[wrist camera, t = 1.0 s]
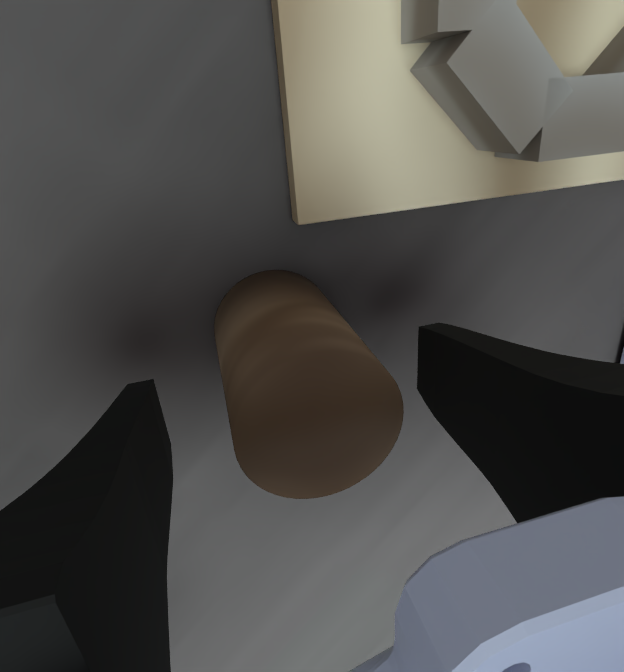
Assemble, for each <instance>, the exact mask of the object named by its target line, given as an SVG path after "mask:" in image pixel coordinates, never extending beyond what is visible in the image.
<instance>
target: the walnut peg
mask: <svg viewBox="0 0 624 672" xmlns="http://www.w3.org/2000/svg"><path fill="white" fill-rule="evenodd" d="M214 334H215V341H216V347H217V353H218V358H219V364H220V370H221V376H222V382H223V387H224V393H225V399H226V405H227V411H228V416H229V422H230V428H231V434H232V440H233V445H234V451H235V454H236V458H237V461H238V463H239V465H240V467H241V469H242V470H243V471H244V473H245V474H246V476H247V477H248V478H249V479H250V480H251V481H252V482H253V483H255V484H256V485H257V486H259V487H260V488H262V489H264V490H266V491H268V492H270V493H273V494H275V495H278V496H282V497H287V498H295V499H309V498H318V497H323V496H328V495H331V494H334V493H337V492H340V491H342V490H345V489H347V488H349V487H351V486H353V485H355V484H356V483H358V482H360V481H361V480H363V479H364V478H366V477H367V476H368V475H369V474H371V473H372V472H373V471H374V470H375V469H376V468H377V467H378V466H379V465H380V464H381V463H382V462H383V461H384V459H385V458H386V457H387V456H388V454H389V453H390V451H391V450H392V448H393V446H394V444H395V442H396V441H397V438H398V436H399V433H400V430H401V426H402V421H403V401H402V396H401V393H400V390H399V388H398V385H397V383H396V382H395V380H394V379H393V377H392V376H391V375H390V373H389V372H388V371H387V370H386V369H385V367H384V366H383V365H382V364H381V363H380V361H379V360H378V359H377V358H376V357H375V355H374V354H373V353H372V352H371V351H370V349H369V348H368V347H367V346H366V345H365V344H364V342H363V341H362V340H361V339H360V338H359V336H358V335H357V334H356V333H355V332H354V330H353V329H352V328H351V327H350V326H349V324H348V323H347V322H346V321H345V320H344V318H343V317H342V316H341V315H340V314H339V312H338V311H337V310H336V309H335V308H334V306H333V305H332V304H331V303H330V302H329V300H328V299H327V298H326V297H325V296H324V294H323V293H322V292H321V291H320V290H319V289H318V287H317V286H316V285H315V284H314V283H312V282H311V281H310V280H308V279H307V278H305V277H303V276H301V275H299V274H297V273H293V272H290V271H284V270H269V271H263V272H259V273H256V274H253V275H250V276H249V277H247V278H245V279H243V280H241V281H240V282H238V283H237V284H236V285H235V286H234V287H232V288H231V289H230V291H229V292H228V293H227V294H226V295H225V297H224V298H223V300H222V301H221V303H220V305H219V307H218V310H217V313H216V316H215V322H214Z"/></svg>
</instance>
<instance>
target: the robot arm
mask: <svg viewBox="0 0 624 672" xmlns="http://www.w3.org/2000/svg"><path fill="white" fill-rule="evenodd" d="M417 389H418V391H419V393H420V394H421V396H422V398H423V400H424V401H425V403H426V405H427V406H428V408H429V409H430V411H431V412H432V414H433V415H434V417H435V418H436V419H437V420H438V422H439V423H440V424H441V425H442V426H443V428H444V429H445V430H446V431H447V432H448V434H449V435H450V436H451V437H452V438H453V439H454V441H455V442H456V443H457V444H458V445H459V446H460V448H461V449H462V450H463V451H464V452H465V453H466V455H467V456H468V457H469V458H470V459H471V460H472V462H473V463H474V464H475V465H476V466H477V467H478V468H479V470H480V471H481V472H482V473H483V475H484V476H485V477H486V478H487V480H488V481H489V482H490V483H491V485H492V486H493V488H494V489H495V491H496V492H497V493H498V495H499V496H500V498H501V499H502V501H503V502H504V504H505V505H506V507H507V508H508V510H509V511H510V512H511V514H512V515H513V517H514V519H515V520H516V522H517V524H514V525H511V526H507V527H504V528H501V529H497V530H494V531H491V532H488V533H484V534H481V535H478V536H474V537H471V538H468V539H464V540H462V541H460V542H458V543H456V544H454V545H452V546H450V547H448V548H446V549H444V550H442V551H440V552H438V553H436V554H434V555H432V556H430V557H429V558H428V559H427V560H426V561H425V562H424V563H423V564H422V565H421V566H420V567H419V568H418V569H417V570H416V571H415V572H414V574H413V575H412V576H411V577H410V578H409V579H408V580H407V581H406V584H405V586H404V589H403V592H402V594H401V597H400V600H399V603H398V606H397V609H396V612H395V642H394V646H392V647H390V648H388V649H387V650H385V651H383V652H381V653H380V654H378V655H376V656H374V657H373V658H371V659H369V660H368V661H366V662H364V663H362V664H361V665H359V666H357V667H355V668H354V669H352V670H350V671H349V672H624V348H623V352H622V357H621V361H620V364H619V363H610V362H602V361H595V360H588V359H582V358H577V357H571V356H566V355H560V354H555V353H551V352H546V351H542V350H538V349H534V348H530V347H526V346H522V345H519V344H515V343H511V342H508V341H504V340H501V339H497V338H494V337H491V336H487V335H484V334H481V333H477V332H474V331H471V330H467V329H464V328H460V327H456V326H453V325H448V324H443V323H435V324H430V325H425V326H420V327H419V333H418V376H417ZM172 488H173V467H172V452H171V443H170V439H169V435H168V432H167V428H166V424H165V421H164V417H163V413H162V409H161V406H160V402H159V398H158V395H157V391H156V387H155V384H154V380H153V379H151V380H146V381H141V382H136V383H131V384H128V385H127V386H126V387H125V388H124V389H123V390H122V392H121V393H120V394H119V396H118V397H117V398H116V399H115V401H114V402H113V403H112V404H111V406H110V407H109V408H108V409H107V411H106V412H105V413H104V414H103V415H102V417H101V418H100V419H99V420H98V421H97V423H96V424H95V425H94V426H93V427H92V429H91V430H90V431H89V432H88V433H87V434H86V435H85V436H84V437H83V438H82V439H81V440H80V441H79V443H78V444H77V445H76V446H75V447H74V448H73V449H72V450H71V451H70V452H69V453H68V454H67V455H66V456H65V457H64V458H63V459H62V460H61V461H60V462H59V463H58V464H57V465H56V466H55V467H54V468H53V469H52V470H51V471H49V472H48V473H47V474H46V475H45V476H44V477H43V478H41V479H40V480H39V481H38V482H37V483H36V484H34V485H33V486H32V487H31V488H30V489H28V490H27V491H26V492H25V493H23V494H22V495H21V496H19V497H18V498H17V499H15V500H14V501H13V502H11V503H10V504H9V505H7V506H6V507H5V508H3V509H2V510H1V511H0V672H171V669H170V649H169V626H168V599H167V555H168V542H169V529H170V516H171V503H172Z"/></svg>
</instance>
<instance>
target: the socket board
mask: <svg viewBox="0 0 624 672" xmlns="http://www.w3.org/2000/svg"><path fill="white" fill-rule="evenodd" d="M271 5H272V15H273V26H274V36H275V46H276V56H277V66H278V77H279V87H280V97H281V107H282V117H283V128H284V138H285V148H286V158H287V168H288V178H289V189H290V199H291V209H292V219H293V221H294V222H296V223H297V224H298V225H303V224H310V223H317V222H324V221H331V220H338V219H345V218H352V217H360V216H367V215H374V214H381V213H388V212H395V211H402V210H410V209H417V208H424V207H431V206H438V205H445V204H452V203H460V202H467V201H474V200H481V199H488V198H495V197H502V196H510V195H517V194H524V193H531V192H538V191H545V190H552V189H560V188H567V187H574V186H581V185H588V184H595V183H602V182H610V181H617V180H624V0H271Z"/></svg>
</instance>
